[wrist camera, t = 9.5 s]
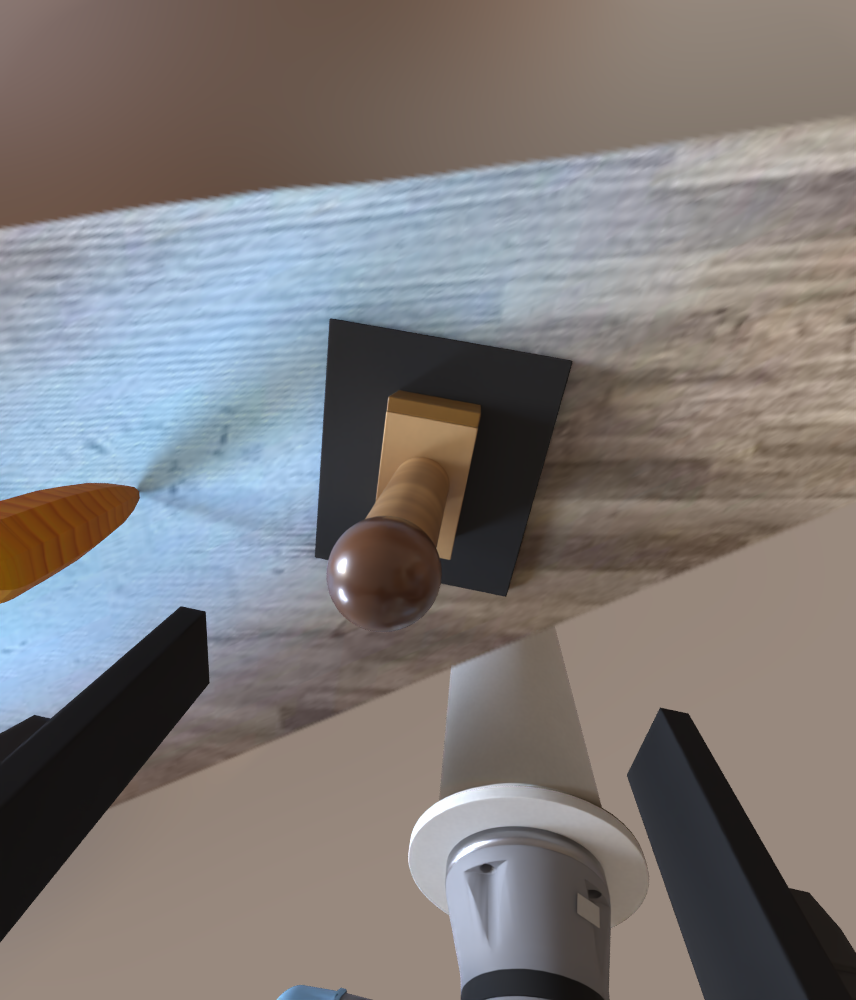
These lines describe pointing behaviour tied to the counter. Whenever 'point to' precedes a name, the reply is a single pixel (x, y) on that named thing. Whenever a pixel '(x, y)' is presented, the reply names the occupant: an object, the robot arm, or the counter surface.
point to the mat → (497, 451)
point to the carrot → (56, 530)
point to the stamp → (406, 514)
